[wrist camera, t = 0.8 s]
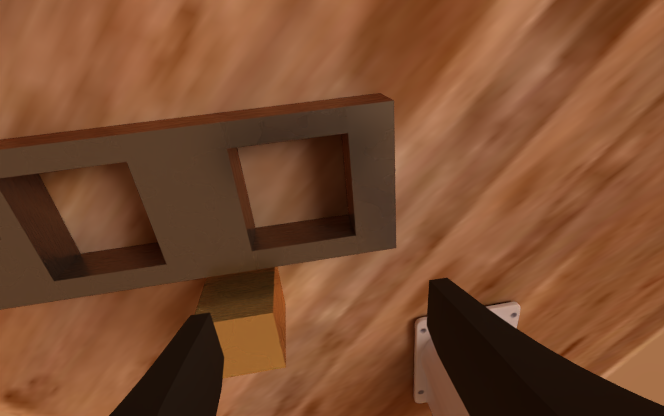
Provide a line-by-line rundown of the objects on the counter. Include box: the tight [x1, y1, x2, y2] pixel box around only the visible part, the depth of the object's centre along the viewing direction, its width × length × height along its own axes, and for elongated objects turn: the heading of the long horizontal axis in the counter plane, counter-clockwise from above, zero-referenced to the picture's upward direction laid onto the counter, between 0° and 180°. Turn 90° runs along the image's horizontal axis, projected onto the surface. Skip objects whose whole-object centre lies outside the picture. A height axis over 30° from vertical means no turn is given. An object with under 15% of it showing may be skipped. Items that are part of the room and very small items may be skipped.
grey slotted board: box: [0, 93, 396, 310], centre depth 17 cm, size 22×8×2 cm, turn 95°
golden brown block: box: [195, 267, 286, 378], centre depth 20 cm, size 4×4×5 cm
